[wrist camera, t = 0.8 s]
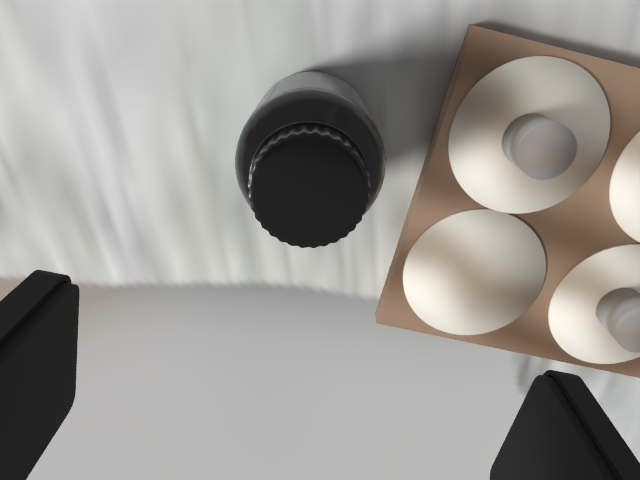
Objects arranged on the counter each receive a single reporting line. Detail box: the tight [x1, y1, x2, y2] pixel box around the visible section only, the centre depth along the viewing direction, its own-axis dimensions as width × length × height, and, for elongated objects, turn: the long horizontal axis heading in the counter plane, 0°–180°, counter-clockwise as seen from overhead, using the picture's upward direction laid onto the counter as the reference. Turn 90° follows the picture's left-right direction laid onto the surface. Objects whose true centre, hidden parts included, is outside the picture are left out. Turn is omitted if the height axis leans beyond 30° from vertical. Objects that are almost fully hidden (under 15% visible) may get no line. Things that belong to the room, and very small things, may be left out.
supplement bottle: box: [235, 71, 385, 248], centre depth 25 cm, size 7×7×12 cm
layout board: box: [375, 25, 640, 378], centre depth 31 cm, size 19×20×4 cm
